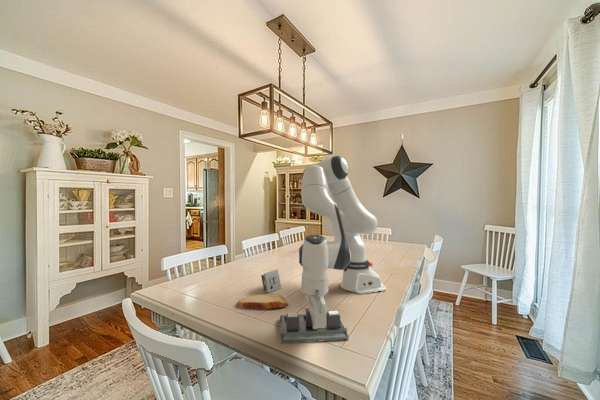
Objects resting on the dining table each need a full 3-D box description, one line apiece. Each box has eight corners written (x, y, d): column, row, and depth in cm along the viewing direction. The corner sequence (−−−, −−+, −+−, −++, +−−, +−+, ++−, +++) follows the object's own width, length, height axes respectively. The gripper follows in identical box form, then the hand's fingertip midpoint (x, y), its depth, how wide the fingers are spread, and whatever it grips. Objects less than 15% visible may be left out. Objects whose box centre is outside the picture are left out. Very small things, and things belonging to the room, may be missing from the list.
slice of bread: (232, 305, 103) (232, 297, 103) (266, 293, 116) (266, 285, 116) (258, 321, 91) (258, 311, 91) (292, 305, 104) (292, 296, 104)
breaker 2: (337, 325, 84) (338, 310, 84) (340, 330, 81) (340, 314, 81) (326, 326, 84) (326, 310, 84) (328, 330, 81) (328, 314, 81)
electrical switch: (268, 293, 115) (266, 274, 115) (260, 292, 118) (259, 273, 119) (281, 288, 122) (280, 269, 123) (274, 286, 126) (273, 268, 126)
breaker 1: (298, 327, 83) (298, 311, 83) (298, 332, 80) (299, 315, 80) (286, 328, 82) (286, 312, 82) (286, 332, 80) (286, 316, 80)
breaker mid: (316, 322, 87) (316, 307, 86) (318, 326, 84) (318, 310, 84) (305, 322, 86) (305, 307, 86) (306, 327, 83) (306, 311, 83)
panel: (336, 316, 94) (336, 310, 94) (348, 339, 79) (348, 332, 79) (280, 319, 91) (280, 313, 91) (280, 343, 76) (280, 335, 76)
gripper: (331, 298, 70) (331, 345, 70) (318, 274, 90) (318, 311, 90) (310, 299, 69) (309, 346, 69) (302, 275, 89) (301, 312, 90)
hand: (314, 326), depth 80 cm, fingers closed
